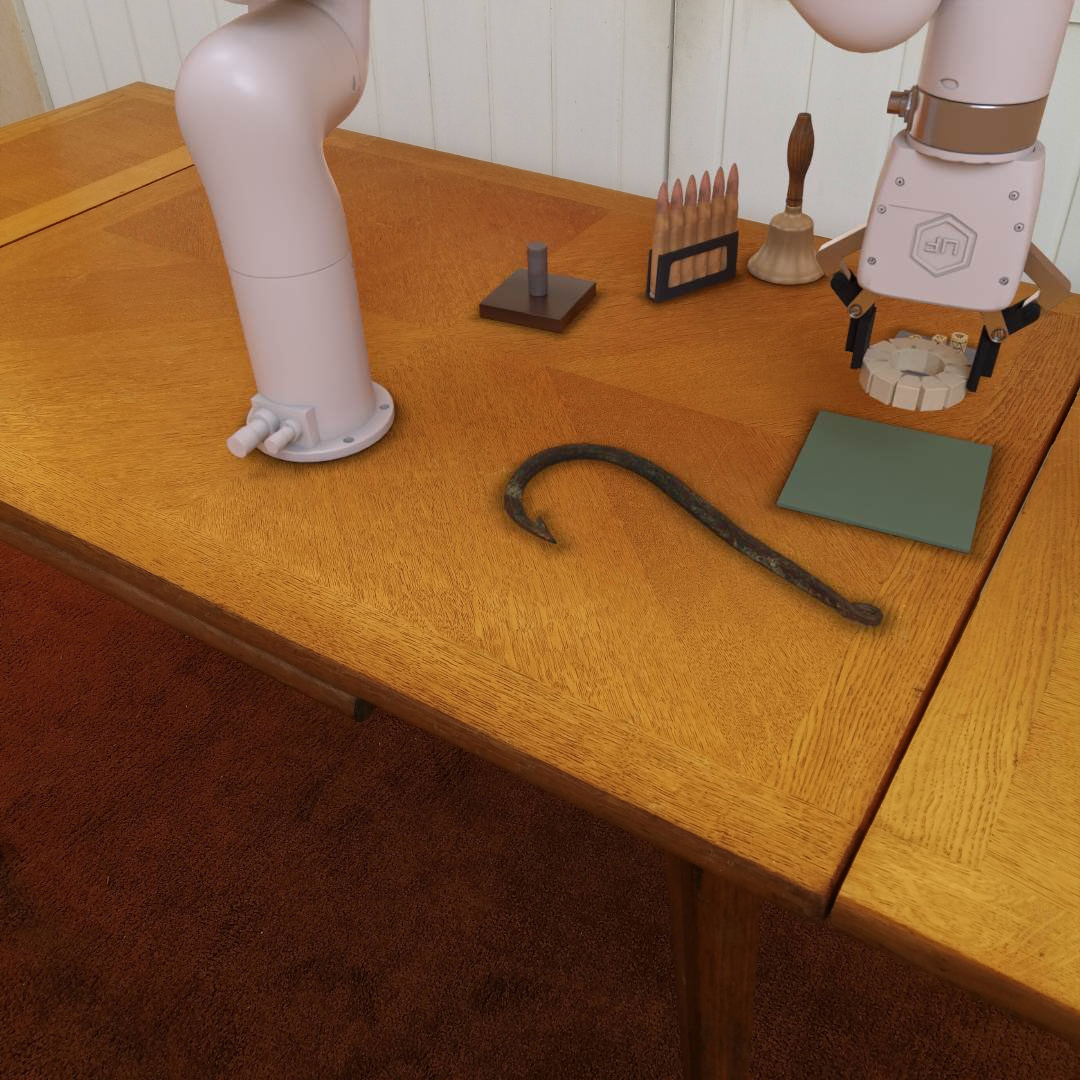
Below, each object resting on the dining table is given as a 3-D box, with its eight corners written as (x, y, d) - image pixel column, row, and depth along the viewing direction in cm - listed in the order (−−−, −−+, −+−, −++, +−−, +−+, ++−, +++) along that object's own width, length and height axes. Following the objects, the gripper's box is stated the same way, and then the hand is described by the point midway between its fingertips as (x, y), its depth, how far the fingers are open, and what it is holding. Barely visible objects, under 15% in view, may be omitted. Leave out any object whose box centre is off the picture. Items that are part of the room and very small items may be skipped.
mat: (968, 553, 71) (970, 549, 71) (776, 506, 76) (776, 501, 76) (992, 450, 81) (993, 446, 81) (819, 413, 86) (820, 409, 86)
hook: (545, 440, 85) (544, 425, 84) (907, 524, 75) (911, 508, 74) (478, 529, 76) (477, 514, 75) (877, 637, 66) (881, 621, 65)
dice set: (965, 353, 93) (970, 334, 92) (948, 377, 90) (953, 358, 88) (911, 339, 95) (915, 321, 94) (893, 362, 92) (897, 343, 91)
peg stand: (560, 333, 98) (559, 271, 94) (479, 317, 101) (475, 256, 97) (596, 294, 104) (596, 234, 100) (519, 280, 107) (516, 221, 103)
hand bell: (743, 282, 106) (761, 126, 95) (750, 249, 112) (767, 99, 101) (824, 288, 104) (850, 130, 94) (826, 255, 110) (851, 103, 100)
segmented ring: (957, 420, 69) (963, 397, 68) (850, 398, 72) (854, 376, 71) (971, 369, 74) (977, 348, 73) (870, 351, 77) (875, 330, 76)
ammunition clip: (655, 303, 102) (661, 187, 95) (645, 296, 104) (650, 181, 96) (736, 276, 107) (748, 163, 99) (725, 270, 108) (736, 158, 100)
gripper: (817, 122, 62) (782, 373, 73) (1130, 155, 56) (1039, 423, 67) (844, 88, 67) (808, 327, 78) (1133, 115, 61) (1048, 370, 72)
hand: (915, 370), depth 72 cm, fingers closed on segmented ring, 7 cm apart
